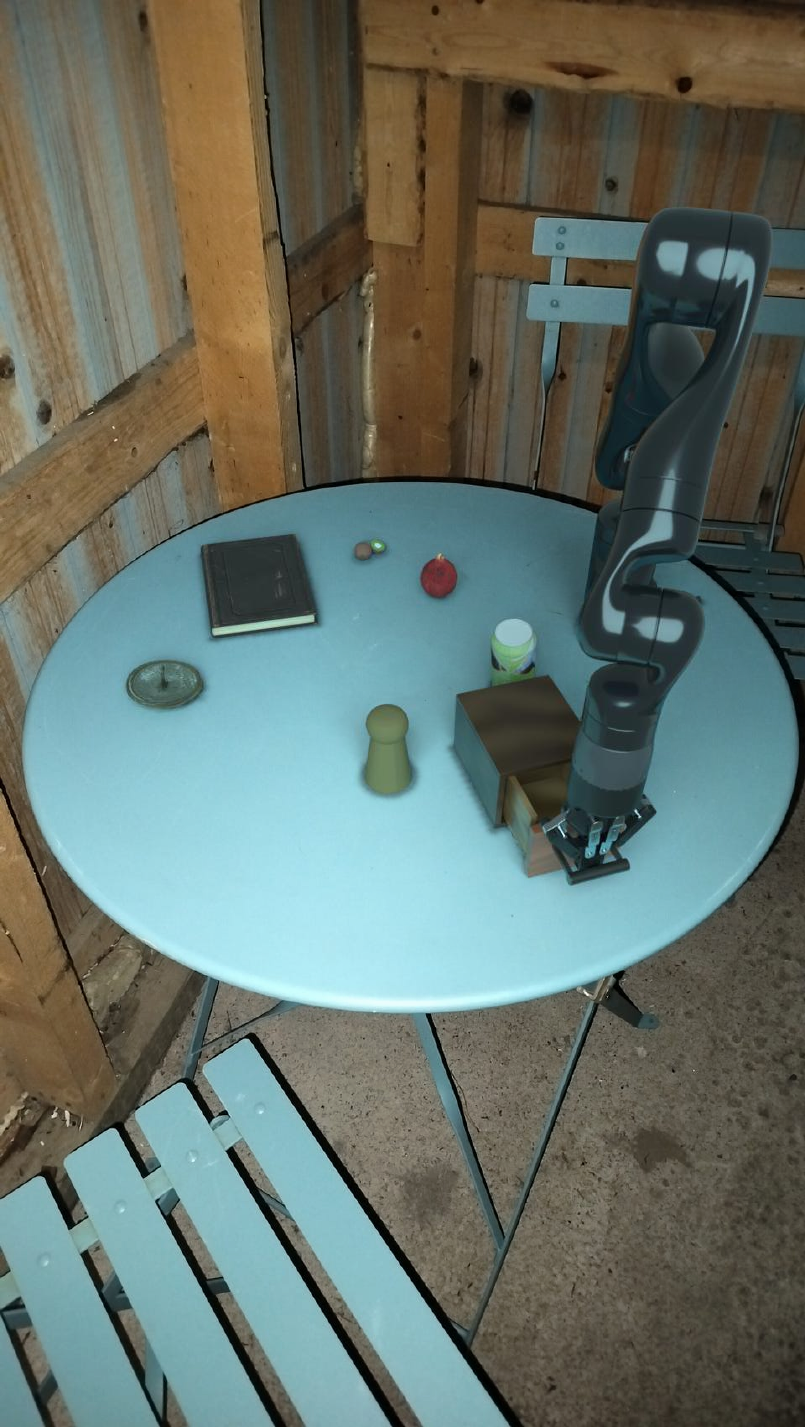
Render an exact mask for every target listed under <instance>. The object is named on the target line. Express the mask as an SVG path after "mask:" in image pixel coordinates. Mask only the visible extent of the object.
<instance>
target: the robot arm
mask: <svg viewBox="0 0 805 1427" xmlns="http://www.w3.org/2000/svg"><path fill="white" fill-rule="evenodd" d="M773 246H774V235H773V228H772V224H771V223H770V221H769V220H768V218H766V217H765V216H762V215H759V214H754V213H749V212H740V211H730V210H726V209H725V210H724V209H723V210H722V209H714V208H705V207H697V206H696V207H692V206H685V205H684V206H683V205H682V206H670V207H666V208H662V209H660V210H658V211H657V212H656V213H655V214H654V215H653V216H652V218H650V220H649V222H648V223H647V225H646V228H645V229H644V231H643V233H642V236H641V240H640V243H639V244H638V249H637V253H636V257H635V262H634V266H633V272H632V273H633V274H632V282H631V289H630V300H629V309H628V317H627V325H626V329H625V335H624V339H623V343H622V346H621V350H620V353H619V357H618V360H617V363H616V367H615V372H614V377H613V381H612V388H611V393H610V401H609V409H608V413H607V416H606V419H605V420H604V424H603V426H602V429H601V430H600V434H599V438H598V441H597V444H596V448H595V449H596V450H595V456H594V471H595V476H596V479H597V481H598V483H599V484H600V485H601V486H602V487H604V489H605V488H606V489H608V490H612V491H615V492H616V491H617V492H622V494H621V497H620V498H616V499H613V500H611V501H609V502H607V503H605V504H604V505H603V506H602V507H601V508H600V509H599V511H598V513H597V516H596V522H595V527H594V533H593V538H592V545H591V552H590V558H589V564H588V569H587V577H586V582H585V583H586V584H585V590H584V596H583V601H582V604H581V607H580V609H579V611H578V614H577V617H576V622H575V635H576V640H577V643H578V645H579V647H580V649H581V651H582V652H583V653H584V655H586V657H588V658H591V659H593V660H597V661H602V662H607V663H609V664H605V665H602V666H600V667H599V668H597V669H596V670H594V672H593V673H592V674H591V676H590V677H589V679H588V682H587V685H586V690H585V696H584V700H583V707H582V712H581V718H580V725H579V727H578V730H577V733H576V737H575V742H574V747H573V752H572V759H571V764H570V770H569V776H568V781H567V799H566V800H565V802H564V803H563V804H562V806H561V814H559V815H558V816H557V817H555V818H554V819H552V820H551V819H550V818H549V817H545V818H542V819H541V820H540V822H539V824H540V826H541V827H542V829H543V831H544V833H545V835H546V837H547V838H548V840H549V842H551V843H552V844H553V845H555V846H556V847H557V848H559V849H560V850H561V851H563V852H564V853H565V854H567V855H568V856H569V857H570V858H573V859H574V864H575V868H576V869H577V871H578V870H581V869H585V868H589V867H593V866H596V865H600V864H604V861H605V858H606V857H605V854H606V853H608V852H609V850H610V847H611V846H613V845H615V846H616V847H619V848H621V847H622V846H624V845H625V844H626V843H627V842H629V841H630V839H631V838H633V837H634V836H635V835H636V834H637V833H638V832H639V831H640V830H641V829H642V828H643V827H644V826H645V825H646V824H648V822H650V820H652V818H653V817H654V816H656V815H657V810H656V809H655V807H654V805H653V804H652V802H651V800H650V799H649V798H648V797H647V795H646V794H645V793H644V791H645V787H646V782H647V779H648V775H649V771H650V767H651V763H652V760H653V755H654V749H655V738H656V733H657V728H658V725H659V721H660V717H661V713H662V709H663V707H664V704H665V701H666V699H667V697H668V695H669V694H670V692H671V690H672V688H673V687H674V686H675V685H676V683H677V681H678V680H679V679H680V678H681V676H682V675H683V673H684V672H685V671H686V669H687V668H688V667H689V665H690V664H691V663H692V661H693V659H694V657H695V655H696V654H697V652H698V650H699V648H700V646H701V644H702V641H703V638H704V635H705V629H706V616H705V612H704V609H703V606H702V604H701V603H700V602H702V597H701V595H697V596H694V595H693V594H691V593H690V592H687V591H684V590H679V589H674V588H667V587H661V586H658V582H657V581H656V580H655V579H654V577H655V576H654V575H655V572H656V567H657V565H658V564H659V565H661V564H675V563H681V562H685V561H686V560H689V559H690V558H691V557H692V556H693V555H694V553H695V552H696V549H697V546H698V543H699V539H700V534H701V533H700V532H701V527H702V526H701V525H702V523H703V517H704V512H705V507H706V502H707V496H708V491H709V485H710V479H711V476H712V470H713V465H714V462H715V457H716V453H717V450H718V446H719V442H720V439H721V435H722V432H723V428H724V427H725V423H726V421H727V420H726V419H727V416H728V413H729V411H730V408H731V405H732V402H733V399H734V396H735V392H736V389H737V386H738V382H739V380H740V376H741V373H742V370H743V366H744V363H745V359H746V357H747V354H748V349H749V346H750V344H751V343H750V342H751V339H752V336H753V333H754V329H755V325H756V323H757V318H758V316H759V311H760V309H761V304H762V302H763V301H762V300H763V297H764V294H765V290H766V286H767V281H768V278H769V273H770V267H771V263H772V257H773ZM690 327H693V328H700V329H708V330H713V331H714V335H713V338H712V342H711V344H710V347H709V350H708V352H707V353H706V356H705V354H704V351H703V348H702V346H701V343H700V342H699V340H698V339H697V338H698V337H696V335H695V334H694V332H693V331H692V329H691V328H690ZM624 823H625V828H624V831H623V832H622V833H620V832H619V830H620V827H621V825H623V824H624ZM567 824H569V825H570V826H571V827H573V828H574V829H575V830H576V838H572V836H571V835H570V834H569V833H568V832H567V828H566V826H567ZM604 857H605V858H604Z"/></svg>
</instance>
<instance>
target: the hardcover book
mask: <svg viewBox="0 0 805 1427" xmlns="http://www.w3.org/2000/svg"><path fill="white" fill-rule="evenodd" d="M199 551H200V557H201V564H202V573H203V581H204V589H205V597H206V604H207V605H206V606H207V612H208V621H209V628H210V633H211V637H212V638H215V639H219V638H220V639H222V638H227V637H228V638H229V637H236V636H243V635H250V634H256V633H257V634H258V633H266V632H273V631H279V630H287V629H292V628H293V629H294V628H300V627H301V628H302V627H308V626H309V627H310V626H315V625H318V621H317V616H316V615H317V614H318V613H317V610H316V605H315V602H314V598H313V594H312V591H311V587H310V584H309V580H308V576H307V572H306V569H305V565H304V561H303V558H302V553H301V550H300V546H299V543H298V539H297V535H296V533H288V534H280V535H269V536H264V537H257V538H256V537H254V538H246V539H239V540H238V539H237V540H229V541H222V542H213V543H205V544H202V545H201V546H200V550H199Z"/></svg>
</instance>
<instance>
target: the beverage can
mask: <svg viewBox="0 0 805 1427" xmlns="http://www.w3.org/2000/svg"><path fill="white" fill-rule="evenodd" d="M537 639H538V638H537V635H536V632H535V631H534V629H533V628H532V626H531V625H530V624H529V623H528V622H527V621H525V620H522V619H520V618H519V619H517V618H510V619H506V620H503V621H501V622H500V623H499V624H498V625H497V626H496V628H495V630H493V632H492V634H491V636H490V652H491V653H490V660H491V687H492V686H497V685H501V684H506V683H511V682H516V681H520V680H525V679H530V678H534V677H537V644H538V643H537Z"/></svg>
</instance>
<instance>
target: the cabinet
mask: <svg viewBox="0 0 805 1427" xmlns="http://www.w3.org/2000/svg"><path fill="white" fill-rule="evenodd" d="M454 715H455V716H454V730H453V731H454V734H453V735H454V736H453V750H454V752H455V754H456V756H457V758H458V760H459V762H460V764H461V767H462V768H463V770H464V772H465V774H466V776H467V778H468V780H469V782H470V783H471V786H472V788H473V789H474V791H475V794H476V795H477V798H478V799H479V801H480V803H481V806H482V807H483V809H484V812H485V813H486V815H487V817H488V819H489V821H490V823H491V825H492V827H493V829H494V830H497V829H501V828H504V827H509V826H508V824H507V822H506V821H505V819H504V817H503V815H502V808H503V799H504V790H505V780H506V777H510V776H514V775H519V774H523V773H527V772H531V771H535V770H540V769H544V768H548V767H552V766H557V765H561V764H565V763H569V762H571V759H572V752H573V747H574V742H575V737H576V733H577V730H578V727H579V725H580V722H581V720H580V719H579V718H578V716H577V715H576V713H575V712H574V710H573V708H572V707H571V706H570V703H569V702H568V701H567V700H566V698H565V697H564V695H563V694H562V692H561V691H560V689H559V688H558V686H557V685H556V683H555V681H554V680H553V679H552V677H551V676H550V675H549V674H545V675H540V676H536V677H534V678H530V679H525V680H520V681H516V682H511V683H506V684H501V685H497V686H492V685H491V686H488V687H482V688H478V689H473V690H469V691H464V692H460V693H456V696H455V714H454Z"/></svg>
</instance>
